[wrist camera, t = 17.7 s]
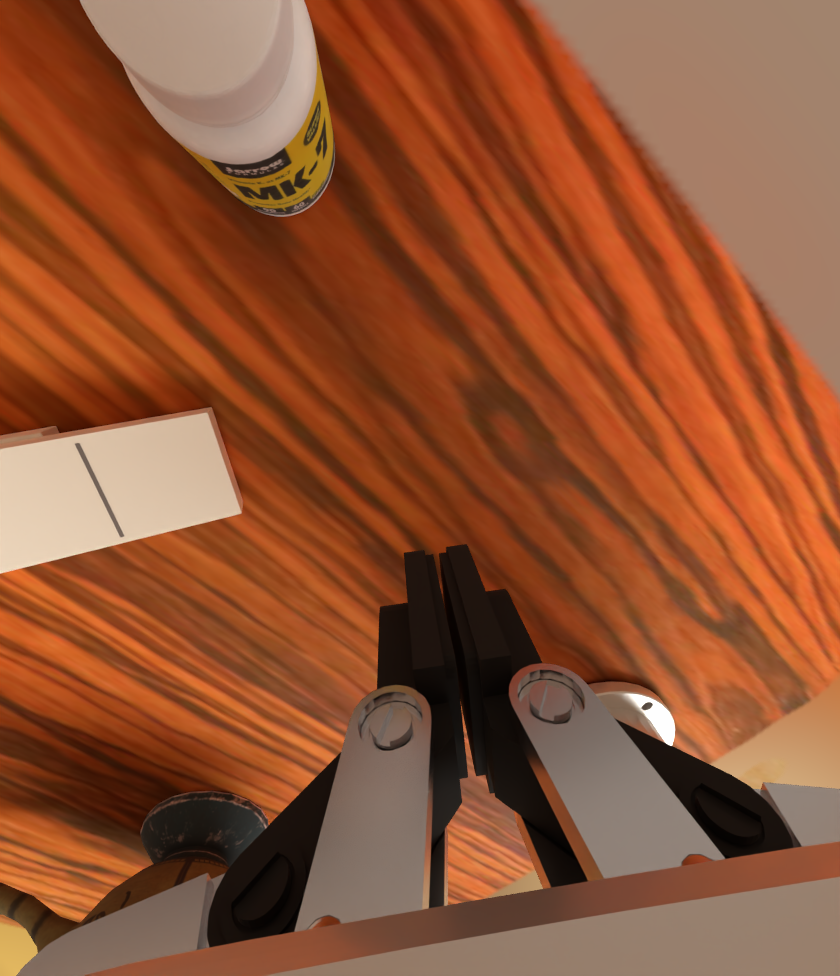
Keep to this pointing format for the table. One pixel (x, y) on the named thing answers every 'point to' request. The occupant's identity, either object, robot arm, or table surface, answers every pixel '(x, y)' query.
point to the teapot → (158, 858)
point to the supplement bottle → (231, 90)
